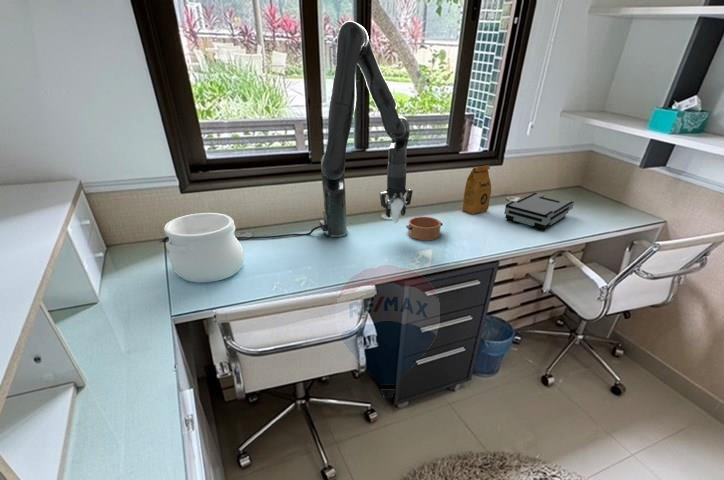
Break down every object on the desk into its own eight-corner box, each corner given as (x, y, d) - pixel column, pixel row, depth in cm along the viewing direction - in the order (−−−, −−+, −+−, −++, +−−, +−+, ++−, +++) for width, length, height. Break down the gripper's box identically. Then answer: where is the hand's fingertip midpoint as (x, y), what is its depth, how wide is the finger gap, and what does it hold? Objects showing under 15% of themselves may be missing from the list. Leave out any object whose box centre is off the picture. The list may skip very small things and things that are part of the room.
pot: (203, 294, 134) (188, 244, 124) (158, 274, 144) (141, 227, 134) (261, 265, 152) (253, 219, 142) (218, 249, 162) (207, 206, 152)
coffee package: (490, 212, 206) (498, 167, 193) (472, 216, 200) (479, 170, 187) (477, 206, 212) (484, 162, 199) (459, 210, 207) (465, 165, 194)
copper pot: (414, 242, 172) (414, 230, 169) (400, 230, 183) (401, 219, 179) (447, 237, 178) (448, 225, 174) (433, 226, 188) (434, 214, 185)
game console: (570, 215, 204) (575, 199, 199) (543, 233, 185) (547, 215, 180) (531, 206, 215) (535, 190, 210) (502, 221, 196) (505, 204, 191)
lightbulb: (392, 226, 168) (393, 200, 161) (385, 221, 172) (386, 195, 166) (405, 224, 170) (406, 198, 164) (398, 219, 174) (399, 193, 168)
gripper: (409, 170, 165) (407, 211, 174) (376, 173, 160) (376, 215, 170) (417, 175, 159) (414, 217, 169) (383, 178, 154) (382, 221, 164)
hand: (395, 215), depth 169 cm, fingers closed on lightbulb, 5 cm apart
